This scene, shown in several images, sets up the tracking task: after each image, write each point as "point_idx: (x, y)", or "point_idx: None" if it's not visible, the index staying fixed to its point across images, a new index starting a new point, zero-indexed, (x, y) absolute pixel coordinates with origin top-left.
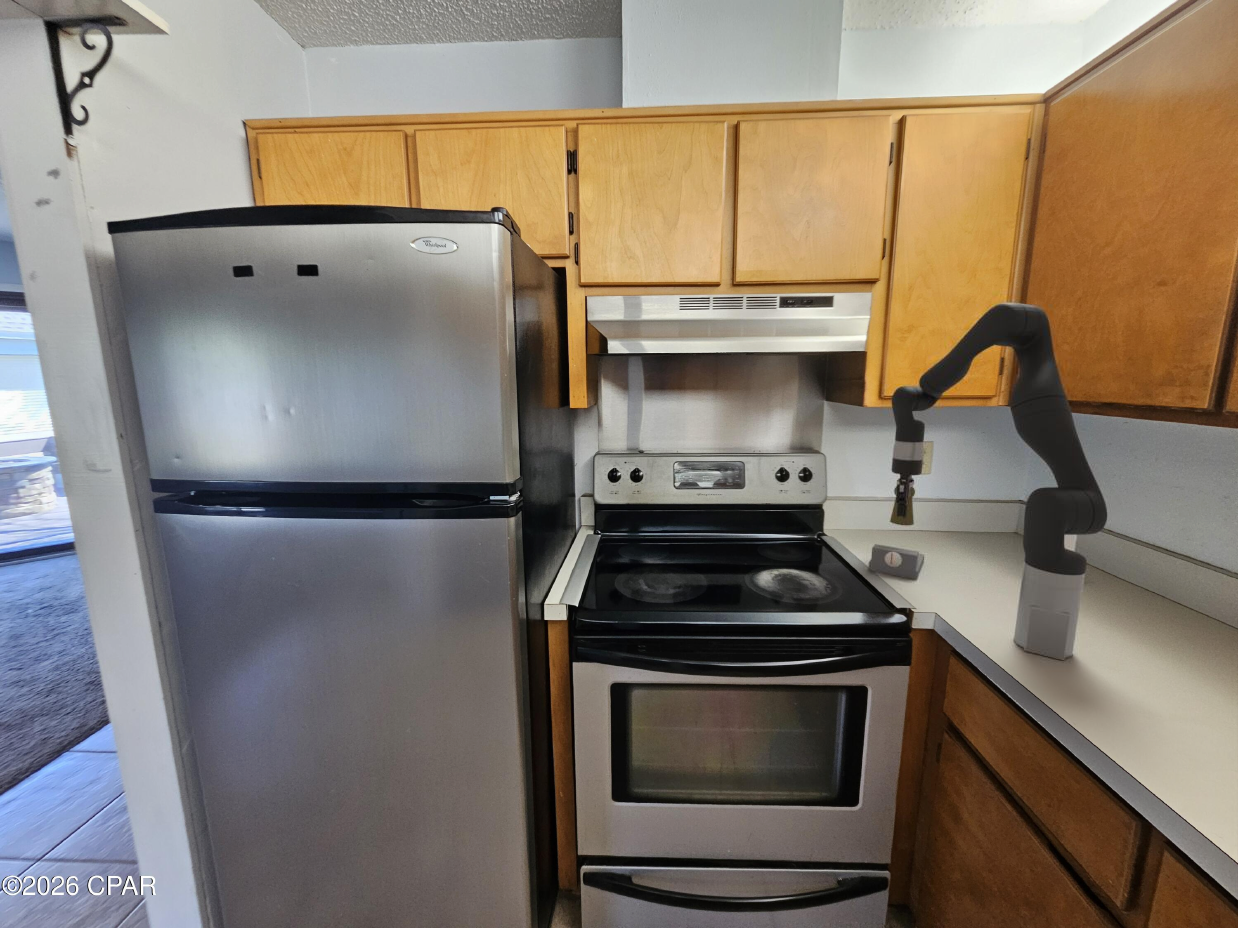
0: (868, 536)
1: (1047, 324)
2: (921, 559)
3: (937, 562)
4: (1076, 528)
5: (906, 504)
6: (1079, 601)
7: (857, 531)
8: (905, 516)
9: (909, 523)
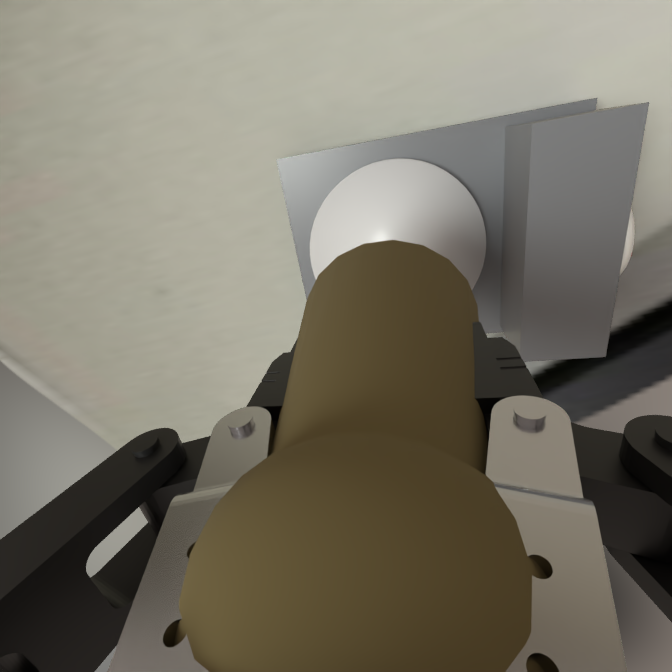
0: (157, 405)
1: None
2: (366, 147)
3: (239, 103)
4: None
5: (552, 408)
6: None
7: None
8: (480, 323)
9: (446, 264)
